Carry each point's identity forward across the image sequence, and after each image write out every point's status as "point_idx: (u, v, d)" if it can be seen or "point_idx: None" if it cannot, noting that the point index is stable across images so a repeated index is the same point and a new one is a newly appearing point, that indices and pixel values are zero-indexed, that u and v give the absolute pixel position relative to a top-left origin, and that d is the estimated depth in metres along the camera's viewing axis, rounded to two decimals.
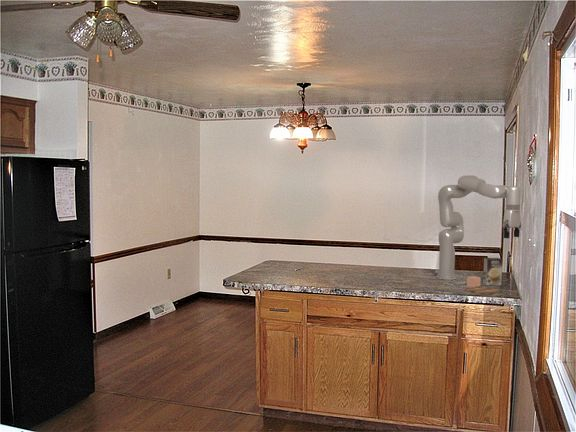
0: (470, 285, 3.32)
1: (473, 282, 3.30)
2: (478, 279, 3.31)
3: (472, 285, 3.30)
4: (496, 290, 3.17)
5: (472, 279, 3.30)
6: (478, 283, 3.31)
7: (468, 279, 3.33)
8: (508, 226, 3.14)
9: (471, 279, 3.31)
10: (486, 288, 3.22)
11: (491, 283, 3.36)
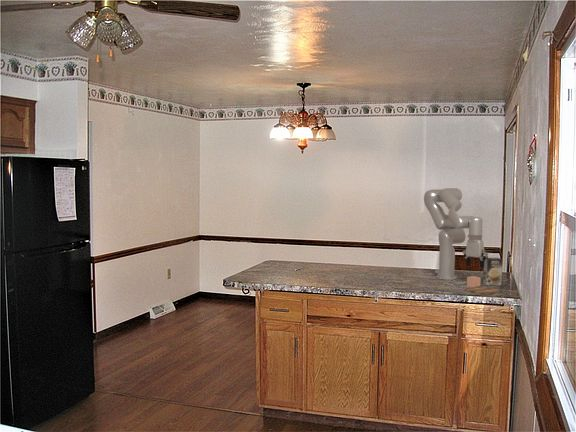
0: (470, 285, 3.32)
1: (473, 282, 3.30)
2: (478, 279, 3.31)
3: (472, 285, 3.30)
4: (496, 290, 3.17)
5: (472, 279, 3.30)
6: (478, 283, 3.31)
7: (468, 279, 3.33)
8: (482, 255, 3.28)
9: (471, 279, 3.31)
10: (486, 288, 3.22)
11: (491, 283, 3.36)
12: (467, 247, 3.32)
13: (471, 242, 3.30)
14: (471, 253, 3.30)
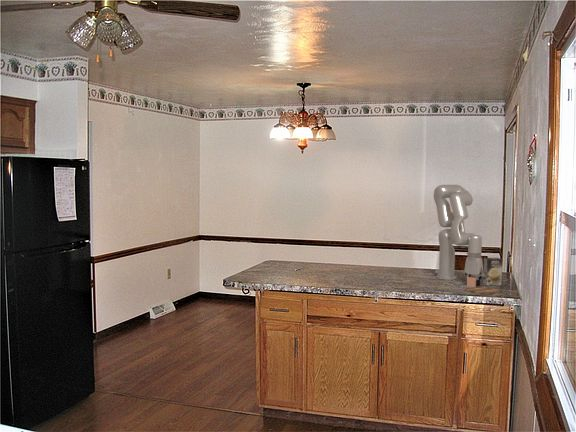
0: (470, 285, 3.32)
1: (473, 282, 3.30)
2: None
3: (472, 285, 3.30)
4: (496, 290, 3.17)
5: (472, 279, 3.30)
6: None
7: (468, 279, 3.33)
8: (479, 274, 3.30)
9: (471, 279, 3.31)
10: (486, 288, 3.22)
11: (491, 283, 3.36)
12: (466, 264, 3.33)
13: (470, 260, 3.31)
14: (470, 270, 3.31)
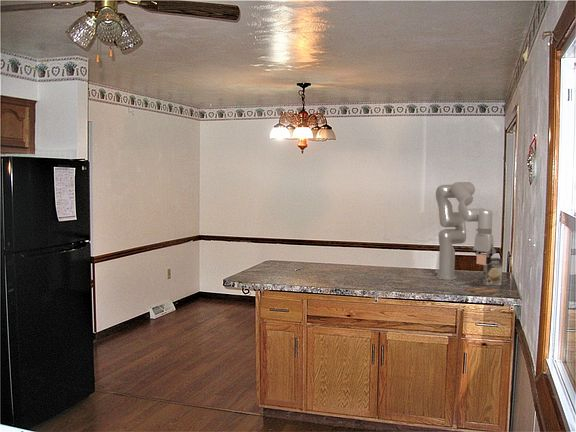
0: (480, 262, 3.16)
1: (483, 259, 3.14)
2: None
3: (482, 262, 3.15)
4: (496, 290, 3.17)
5: (482, 256, 3.14)
6: None
7: (478, 256, 3.17)
8: (490, 251, 3.14)
9: (481, 256, 3.15)
10: (486, 288, 3.22)
11: (491, 283, 3.36)
12: (476, 241, 3.18)
13: (480, 236, 3.15)
14: (480, 247, 3.15)
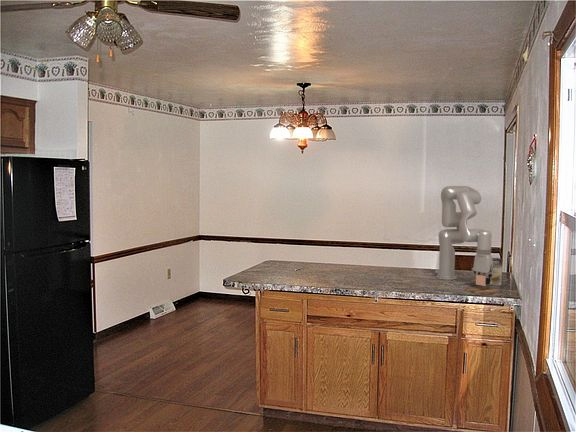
0: (479, 283, 3.17)
1: (483, 280, 3.15)
2: None
3: (481, 283, 3.16)
4: (496, 290, 3.17)
5: (481, 277, 3.15)
6: None
7: (477, 277, 3.18)
8: (489, 272, 3.15)
9: (480, 277, 3.16)
10: (486, 288, 3.22)
11: (491, 283, 3.36)
12: (475, 262, 3.19)
13: (479, 257, 3.16)
14: (479, 268, 3.16)
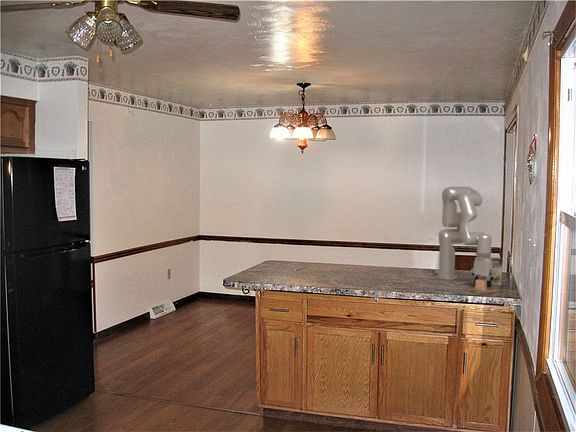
0: (479, 288, 3.17)
1: (482, 285, 3.15)
2: None
3: (481, 288, 3.16)
4: (496, 290, 3.17)
5: (481, 282, 3.16)
6: None
7: (477, 282, 3.18)
8: (490, 275, 3.15)
9: (480, 282, 3.16)
10: None
11: None
12: (475, 265, 3.19)
13: (479, 260, 3.16)
14: (479, 271, 3.17)
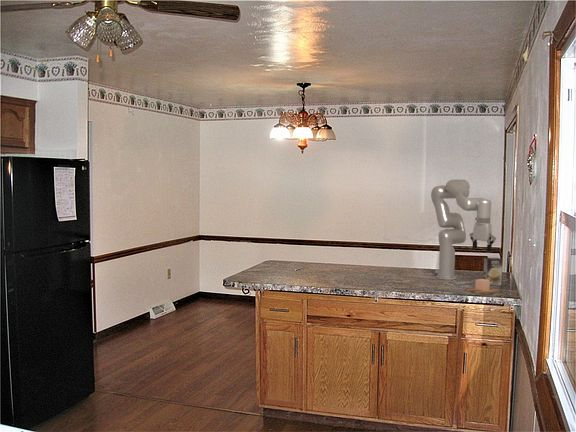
0: (479, 288, 3.17)
1: (482, 285, 3.15)
2: (487, 282, 3.17)
3: (481, 288, 3.16)
4: (496, 290, 3.17)
5: (481, 282, 3.16)
6: (487, 286, 3.17)
7: (477, 282, 3.18)
8: (489, 239, 3.17)
9: (480, 282, 3.16)
10: None
11: (491, 283, 3.36)
12: (474, 230, 3.22)
13: (479, 225, 3.19)
14: (478, 236, 3.19)
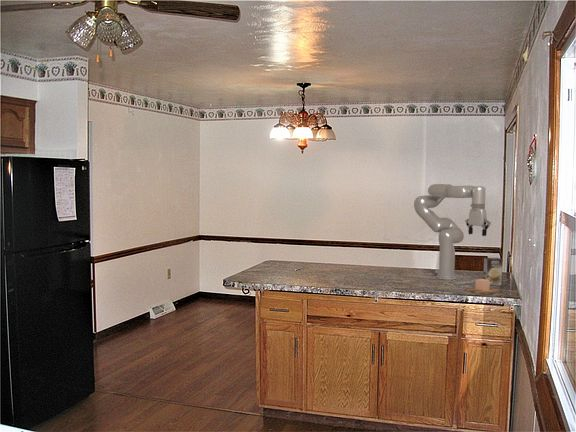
0: (479, 288, 3.17)
1: (482, 285, 3.15)
2: (487, 282, 3.17)
3: (481, 288, 3.16)
4: (496, 290, 3.17)
5: (481, 282, 3.16)
6: (487, 286, 3.17)
7: (477, 282, 3.18)
8: (484, 224, 3.32)
9: (480, 282, 3.16)
10: None
11: (491, 283, 3.36)
12: (470, 216, 3.37)
13: (474, 211, 3.34)
14: (474, 221, 3.34)
